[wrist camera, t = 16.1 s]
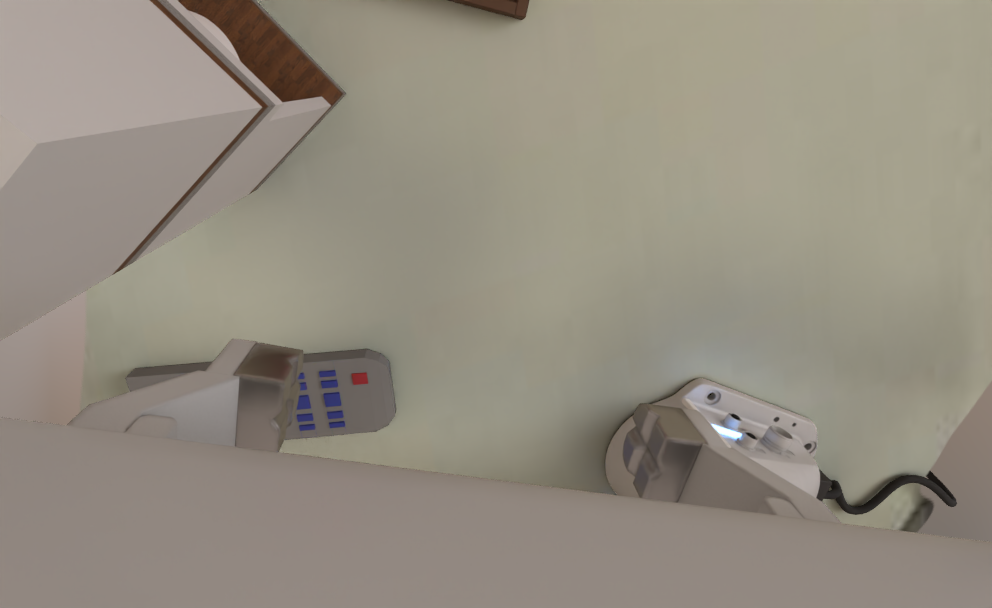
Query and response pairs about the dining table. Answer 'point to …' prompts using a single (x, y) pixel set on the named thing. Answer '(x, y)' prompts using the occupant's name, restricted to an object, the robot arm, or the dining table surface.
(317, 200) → the dining table surface
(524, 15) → the serving tray
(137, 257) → the two-tier shelf stand
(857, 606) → the robot arm
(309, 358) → the remote control
